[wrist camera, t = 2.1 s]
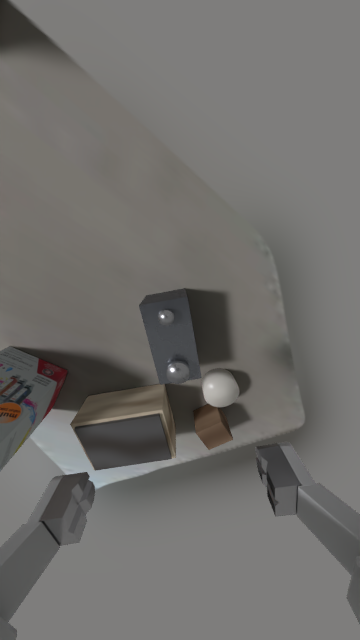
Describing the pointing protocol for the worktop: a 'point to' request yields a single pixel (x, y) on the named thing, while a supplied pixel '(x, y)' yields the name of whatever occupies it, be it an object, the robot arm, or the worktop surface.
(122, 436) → the stand
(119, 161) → the worktop surface
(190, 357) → the block
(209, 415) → the walnut block
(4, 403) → the ink box
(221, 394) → the white egg shape
